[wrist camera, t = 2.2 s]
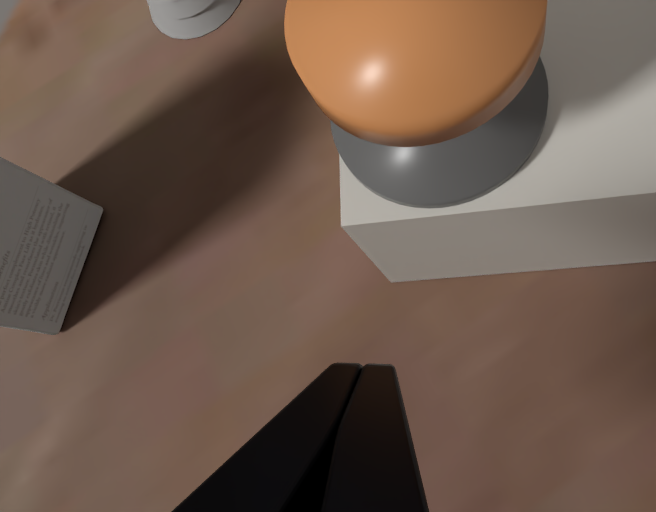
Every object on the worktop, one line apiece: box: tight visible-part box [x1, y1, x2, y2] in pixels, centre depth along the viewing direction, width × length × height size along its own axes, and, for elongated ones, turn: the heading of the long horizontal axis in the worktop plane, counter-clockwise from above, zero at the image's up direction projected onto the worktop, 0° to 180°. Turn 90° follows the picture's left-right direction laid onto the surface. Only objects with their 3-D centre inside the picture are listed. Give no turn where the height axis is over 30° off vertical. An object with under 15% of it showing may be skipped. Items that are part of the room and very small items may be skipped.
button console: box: [330, 0, 656, 282], centre depth 18 cm, size 15×6×7 cm, turn 91°
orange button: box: [284, 0, 547, 147], centre depth 13 cm, size 5×5×3 cm
